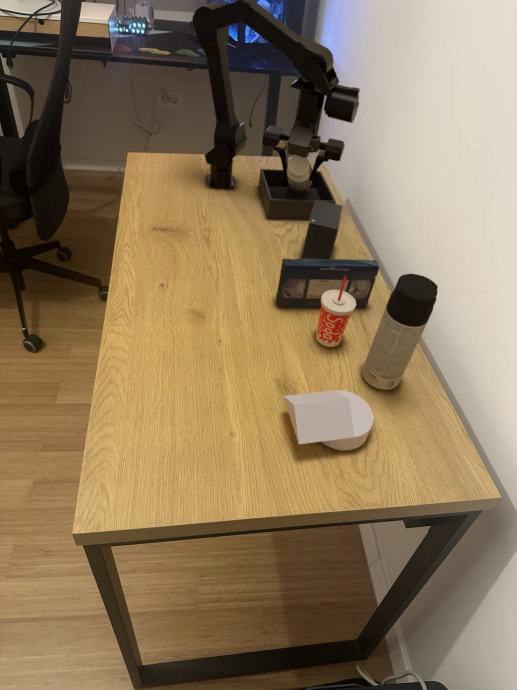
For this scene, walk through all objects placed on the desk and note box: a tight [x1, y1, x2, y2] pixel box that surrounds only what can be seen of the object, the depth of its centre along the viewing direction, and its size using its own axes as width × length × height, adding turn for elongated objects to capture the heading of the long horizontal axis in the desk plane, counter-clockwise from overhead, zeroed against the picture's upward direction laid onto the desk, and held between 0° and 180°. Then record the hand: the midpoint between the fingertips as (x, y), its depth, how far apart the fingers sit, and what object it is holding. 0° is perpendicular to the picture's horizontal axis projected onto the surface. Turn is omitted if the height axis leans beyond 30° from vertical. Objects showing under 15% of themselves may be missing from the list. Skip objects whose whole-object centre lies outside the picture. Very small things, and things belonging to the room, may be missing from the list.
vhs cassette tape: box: [275, 258, 380, 308], centre depth 96 cm, size 18×3×10 cm, turn 95°
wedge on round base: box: [282, 389, 375, 452], centre depth 76 cm, size 9×7×13 cm
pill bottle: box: [287, 155, 313, 193], centre depth 124 cm, size 6×6×11 cm
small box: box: [300, 200, 344, 260], centre depth 109 cm, size 11×6×10 cm, turn 167°
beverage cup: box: [315, 276, 356, 348], centre depth 88 cm, size 6×6×14 cm
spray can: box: [361, 273, 439, 391], centre depth 80 cm, size 7×7×20 cm
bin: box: [257, 168, 337, 221], centre depth 127 cm, size 16×16×5 cm
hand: (297, 177), depth 123 cm, fingers closed on pill bottle, 6 cm apart
